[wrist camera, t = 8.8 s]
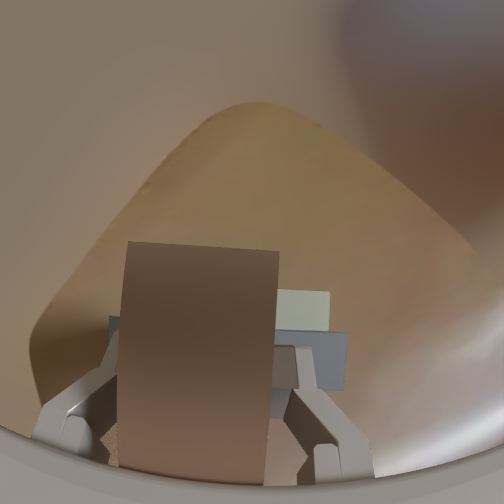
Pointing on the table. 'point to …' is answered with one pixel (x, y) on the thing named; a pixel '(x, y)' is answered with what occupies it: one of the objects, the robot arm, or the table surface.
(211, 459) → the walnut slat
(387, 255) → the table surface
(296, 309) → the notched receiver
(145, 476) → the robot arm
